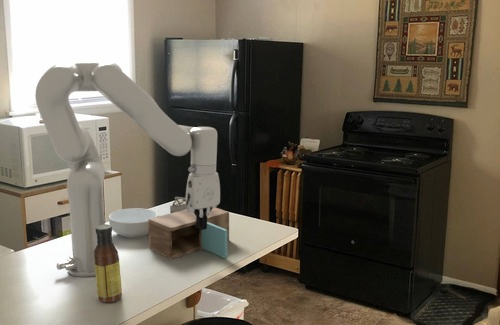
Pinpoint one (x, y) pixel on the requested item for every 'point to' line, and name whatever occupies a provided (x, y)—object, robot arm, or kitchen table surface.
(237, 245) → the kitchen table surface
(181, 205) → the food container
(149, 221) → the cabinet
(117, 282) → the sauce bottle
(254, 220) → the kitchen table surface
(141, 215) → the cereal bowl
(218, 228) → the door
